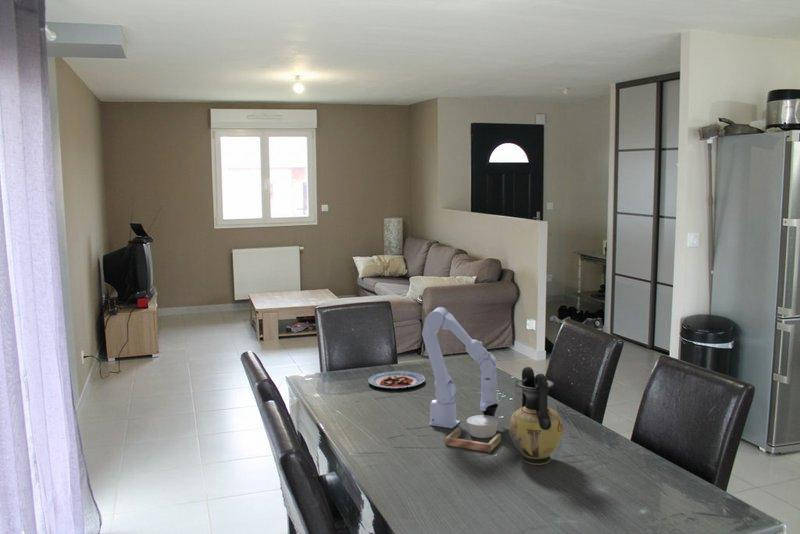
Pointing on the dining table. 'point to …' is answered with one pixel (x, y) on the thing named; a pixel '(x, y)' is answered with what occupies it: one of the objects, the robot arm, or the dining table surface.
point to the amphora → (535, 420)
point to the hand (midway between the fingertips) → (489, 423)
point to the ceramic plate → (396, 379)
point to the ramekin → (482, 426)
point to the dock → (471, 442)
